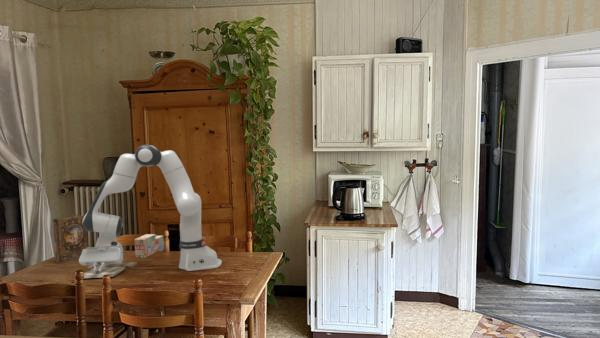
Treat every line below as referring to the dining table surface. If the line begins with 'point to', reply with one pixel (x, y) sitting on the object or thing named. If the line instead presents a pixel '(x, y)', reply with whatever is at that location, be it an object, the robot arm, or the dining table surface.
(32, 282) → the dining table surface
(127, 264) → the grey flat bar
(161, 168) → the robot arm
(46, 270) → the dining table surface
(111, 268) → the metal panel
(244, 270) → the dining table surface
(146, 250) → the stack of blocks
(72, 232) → the book
